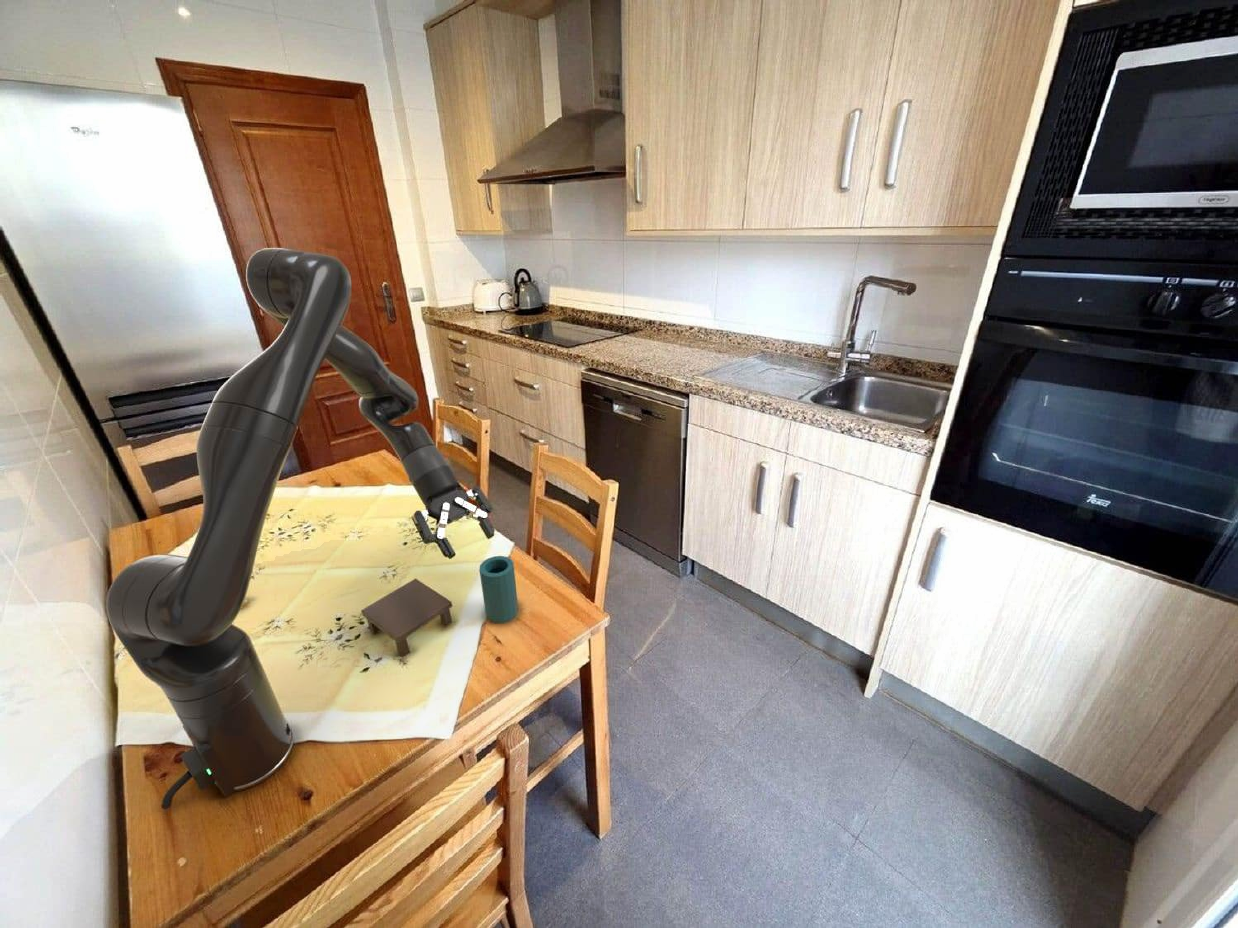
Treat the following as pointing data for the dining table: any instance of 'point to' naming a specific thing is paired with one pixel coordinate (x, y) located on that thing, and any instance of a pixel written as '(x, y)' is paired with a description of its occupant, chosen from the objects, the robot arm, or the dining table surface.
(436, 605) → the stand
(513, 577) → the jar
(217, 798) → the dining table surface
